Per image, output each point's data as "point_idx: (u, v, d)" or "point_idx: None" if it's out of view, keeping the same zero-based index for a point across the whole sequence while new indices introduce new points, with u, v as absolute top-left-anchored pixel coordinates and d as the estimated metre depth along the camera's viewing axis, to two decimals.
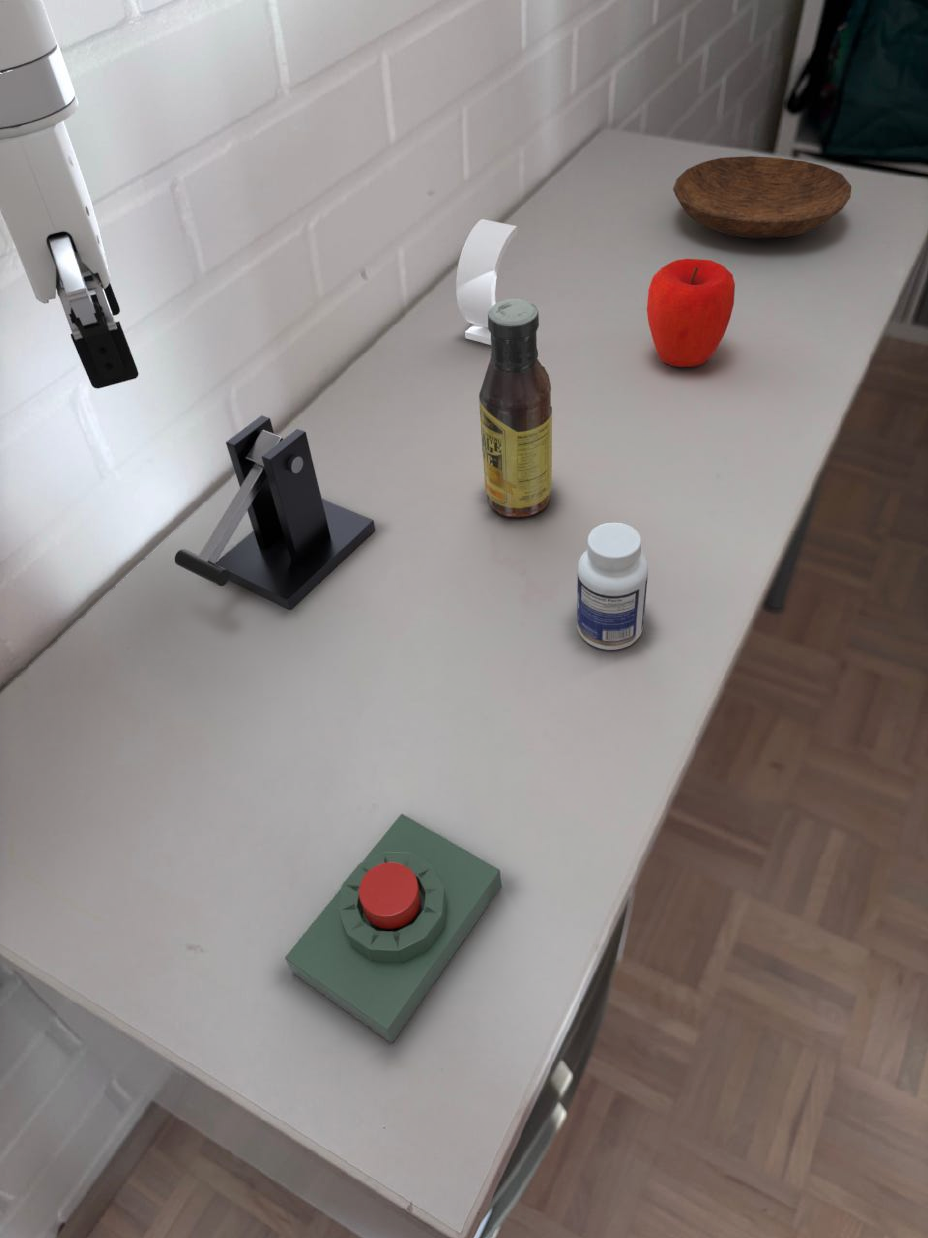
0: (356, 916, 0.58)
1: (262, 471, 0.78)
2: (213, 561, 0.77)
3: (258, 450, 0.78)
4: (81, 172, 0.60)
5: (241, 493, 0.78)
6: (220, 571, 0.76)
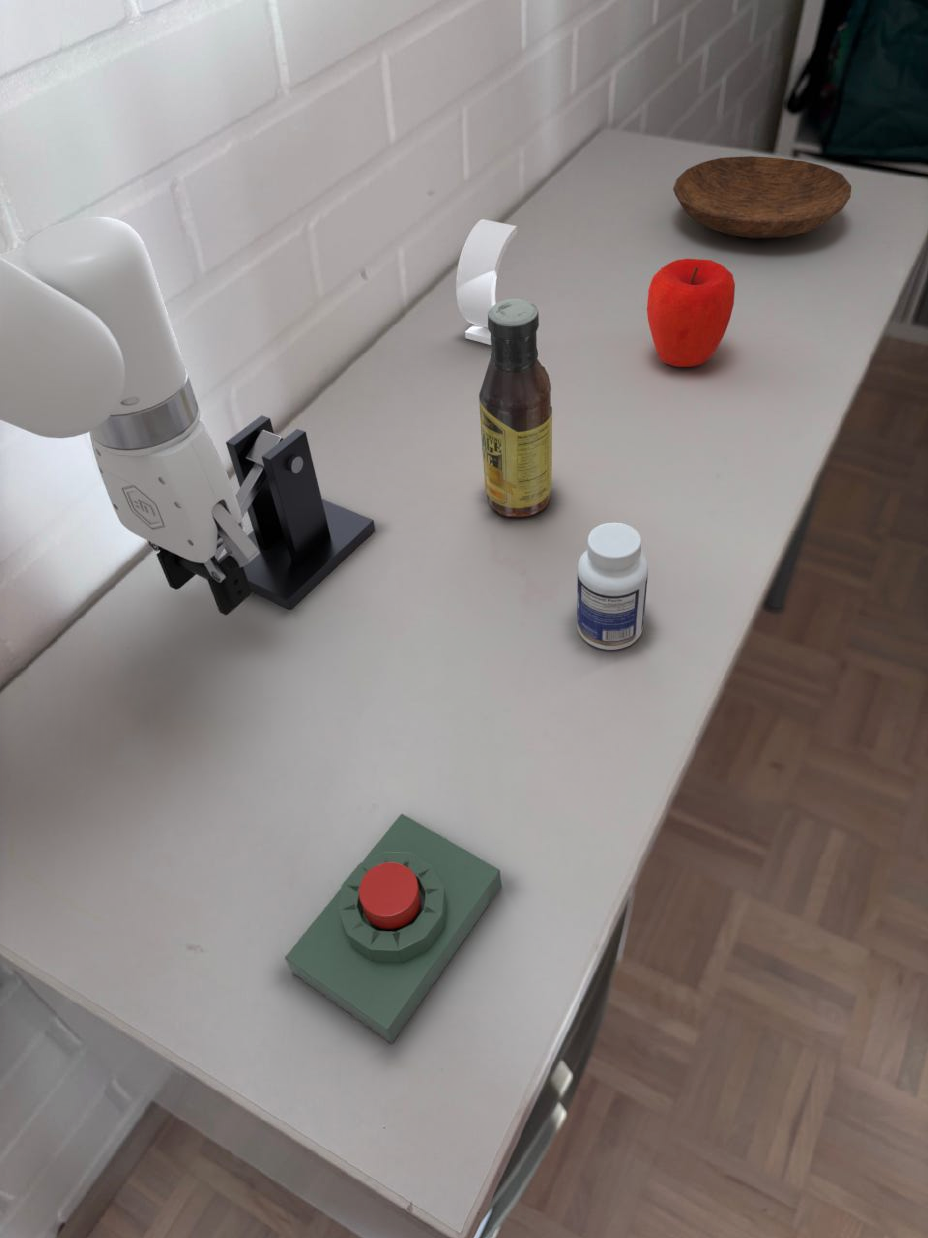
0: (356, 916, 0.58)
1: (262, 471, 0.78)
2: None
3: (258, 450, 0.78)
4: None
5: (241, 493, 0.78)
6: None
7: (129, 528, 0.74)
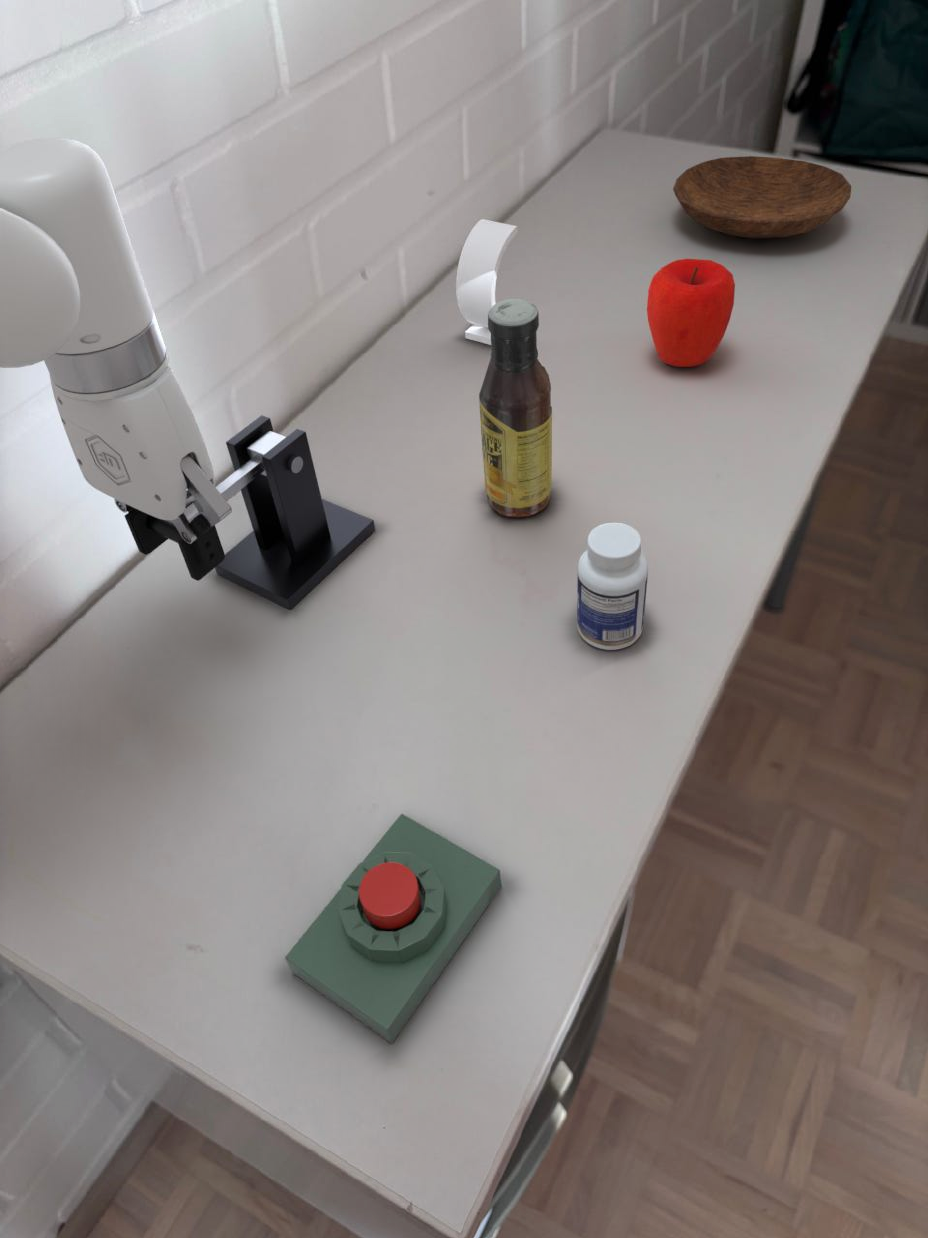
0: (356, 916, 0.58)
1: (260, 464, 0.78)
2: None
3: (261, 444, 0.78)
4: None
5: (234, 477, 0.76)
6: None
7: (94, 485, 0.69)
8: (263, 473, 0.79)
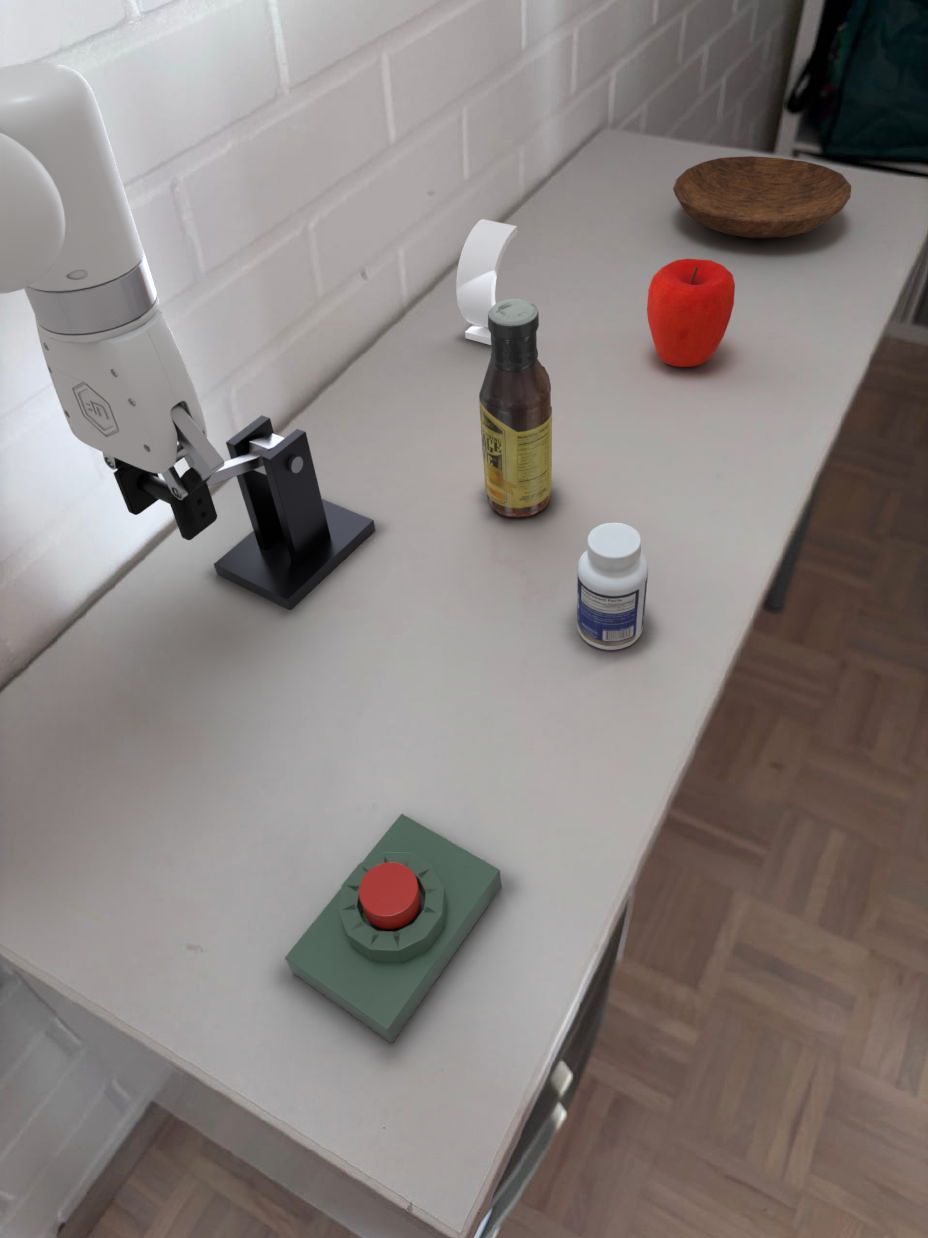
0: (356, 916, 0.58)
1: (260, 457, 0.77)
2: None
3: (264, 441, 0.78)
4: None
5: (233, 461, 0.76)
6: None
7: (82, 439, 0.67)
8: (260, 470, 0.78)
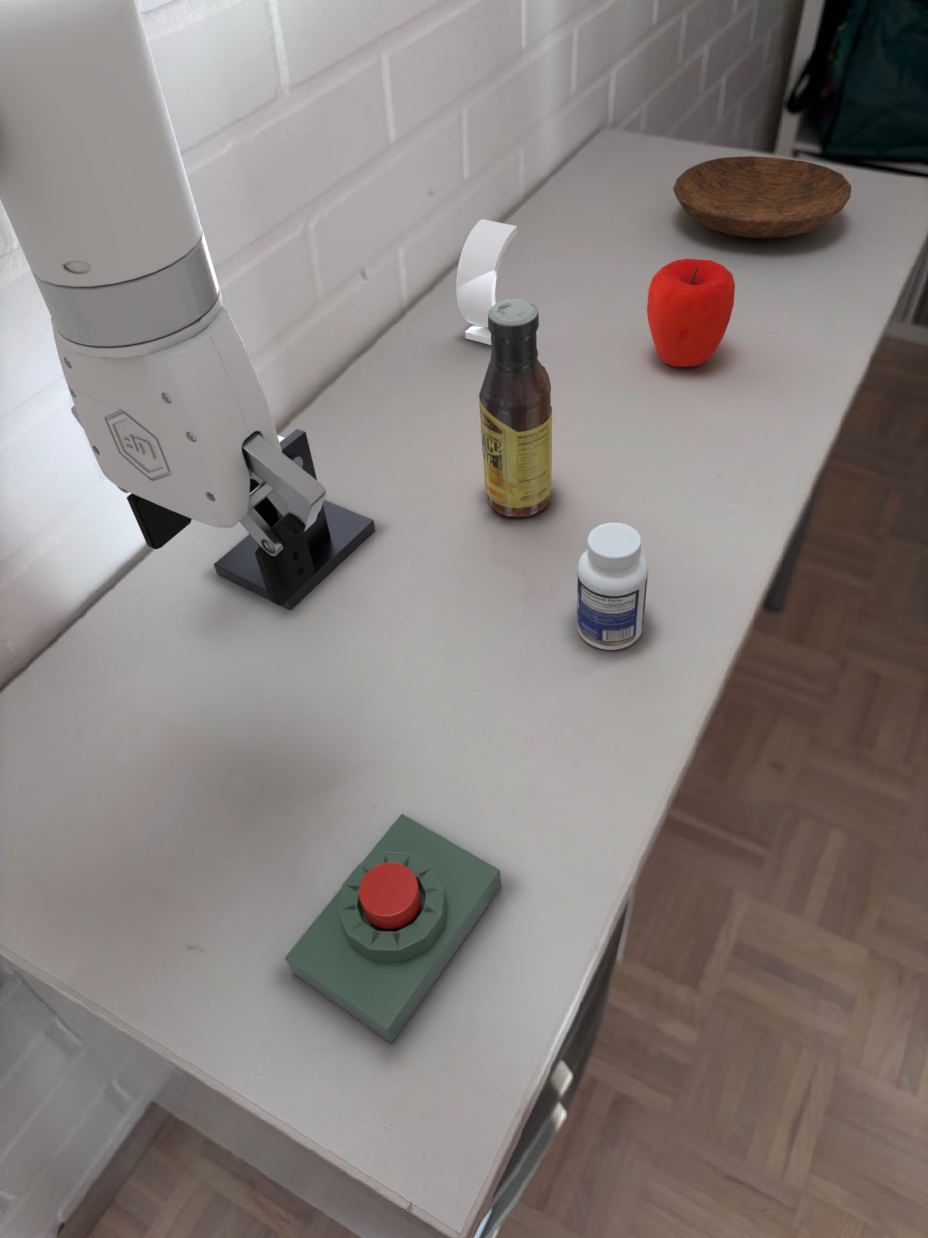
0: (356, 916, 0.58)
1: None
2: None
3: None
4: None
5: None
6: None
7: (117, 482, 0.50)
8: None
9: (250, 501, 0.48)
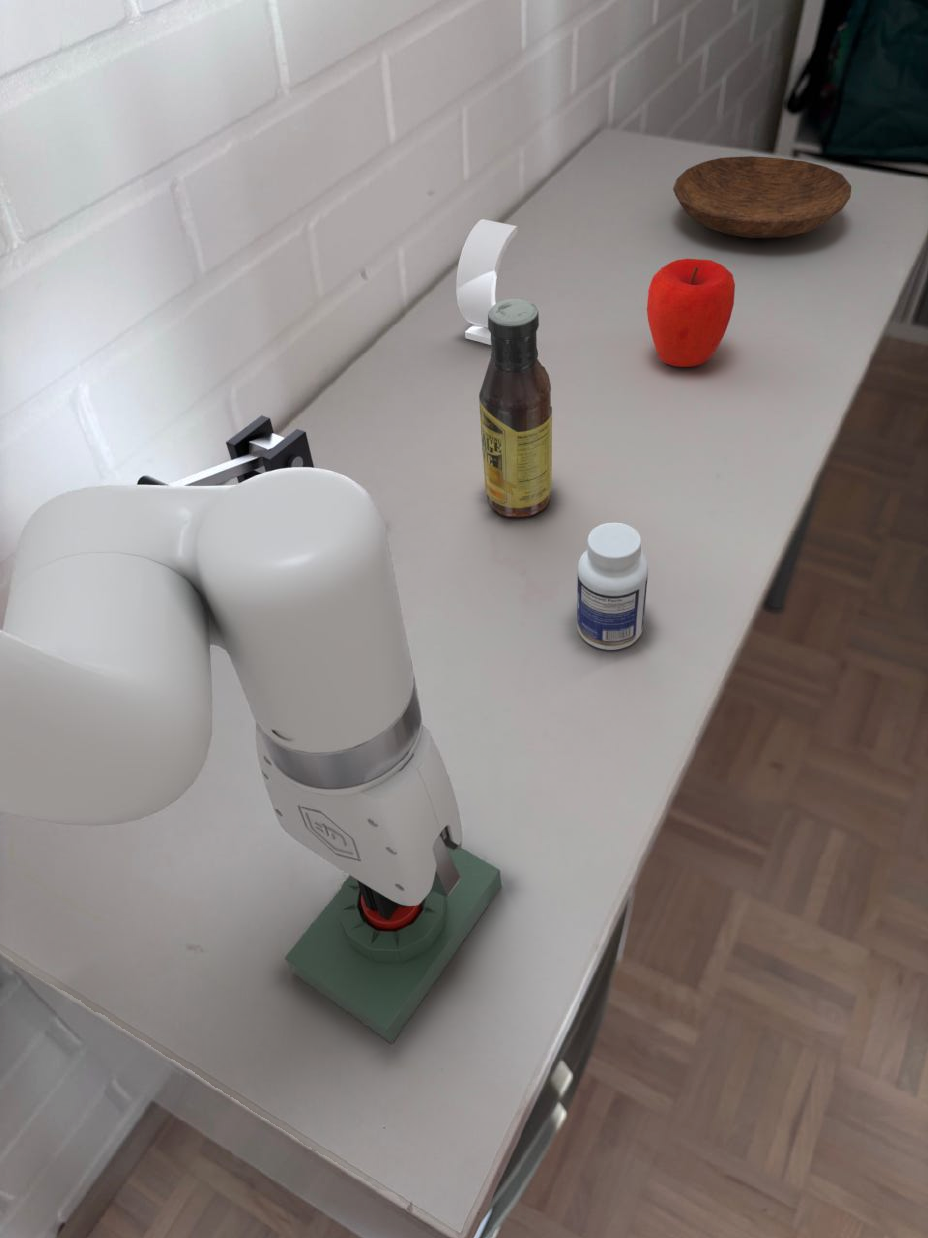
0: (356, 916, 0.58)
1: (260, 457, 0.77)
2: None
3: (264, 441, 0.78)
4: None
5: (233, 462, 0.76)
6: None
7: (295, 838, 0.52)
8: (260, 470, 0.78)
9: None
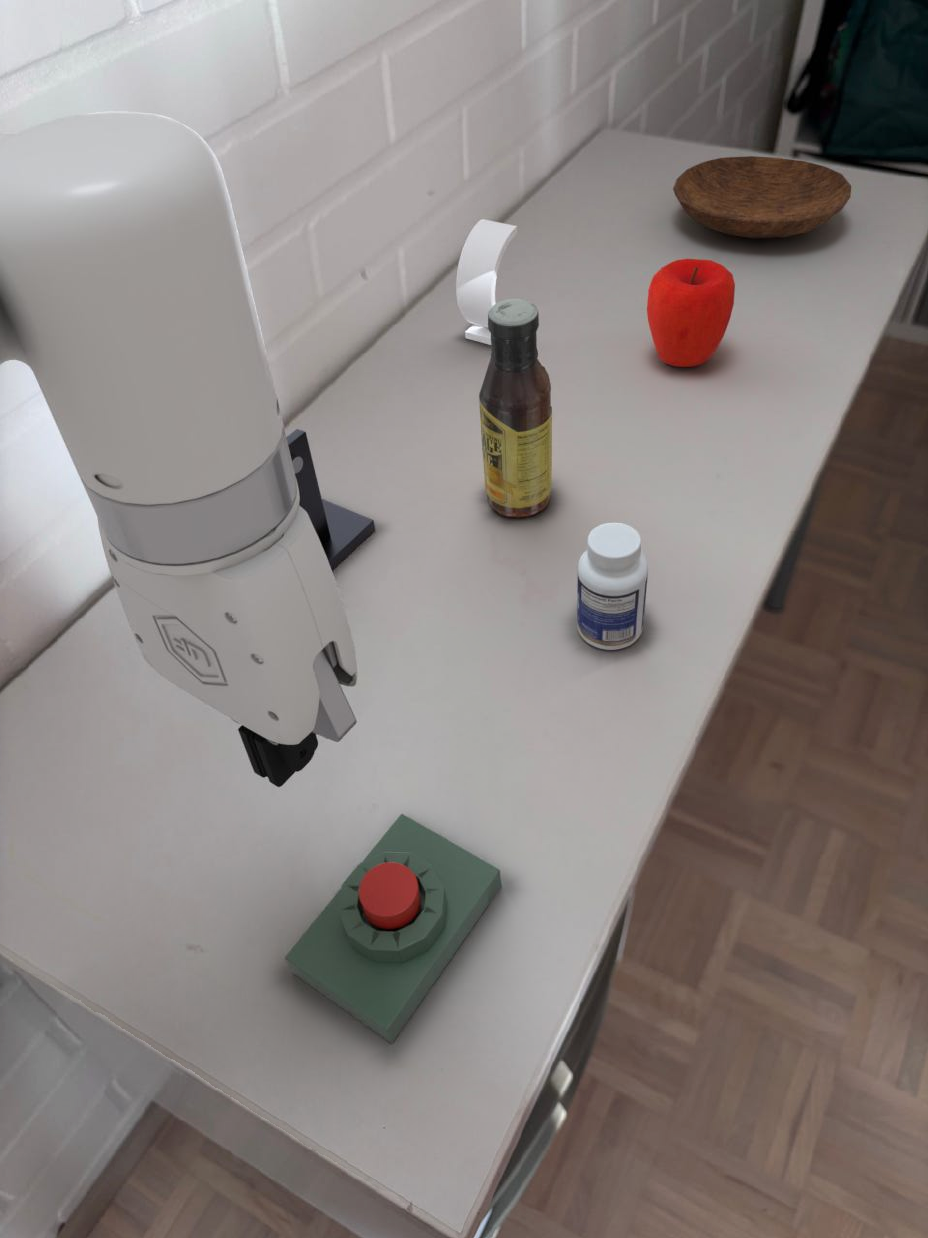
0: (356, 916, 0.58)
1: None
2: None
3: None
4: None
5: None
6: None
7: (161, 672, 0.43)
8: None
9: None
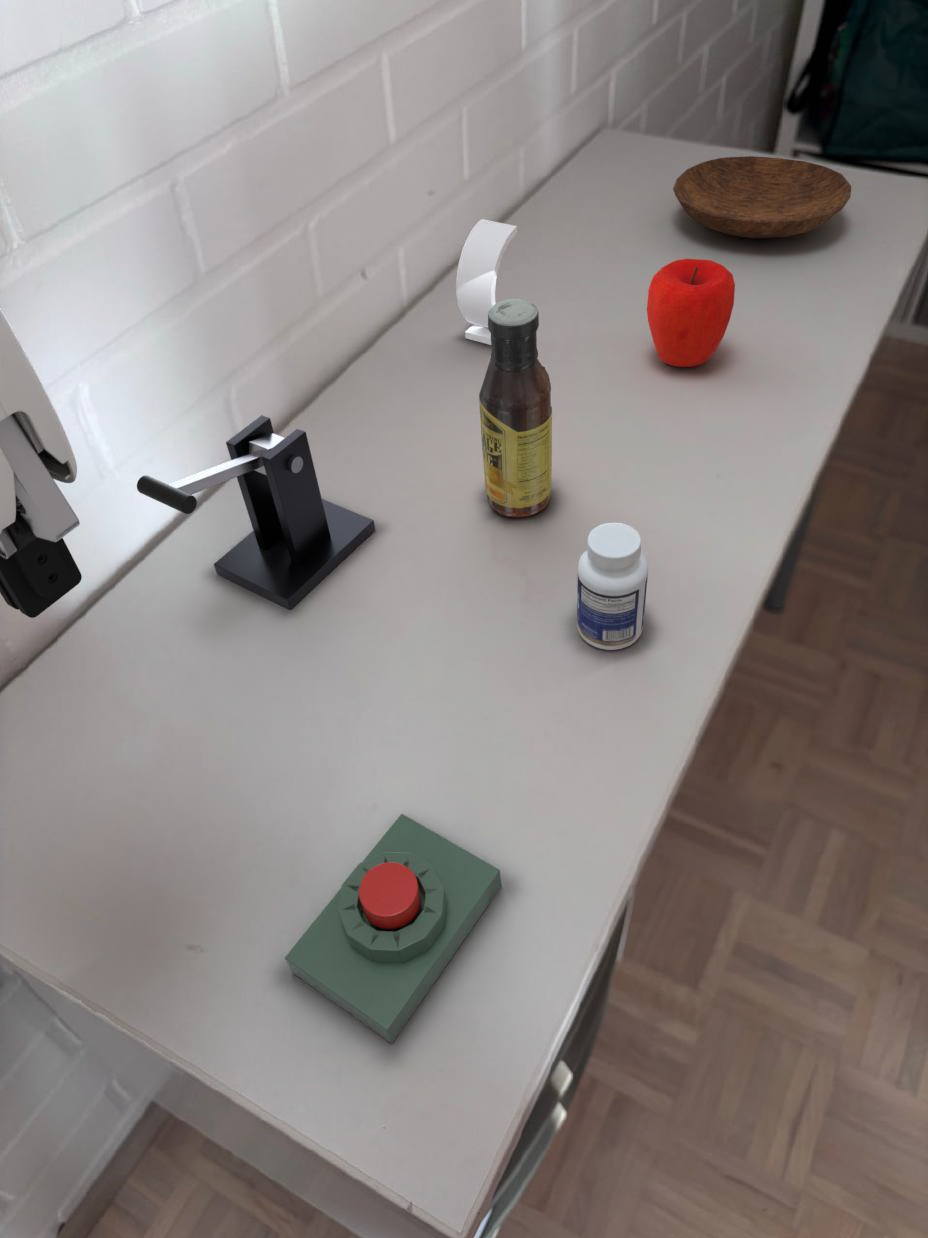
0: (356, 916, 0.58)
1: (260, 457, 0.77)
2: None
3: (264, 441, 0.78)
4: None
5: (233, 462, 0.76)
6: (191, 495, 0.70)
7: None
8: (260, 470, 0.78)
9: None
